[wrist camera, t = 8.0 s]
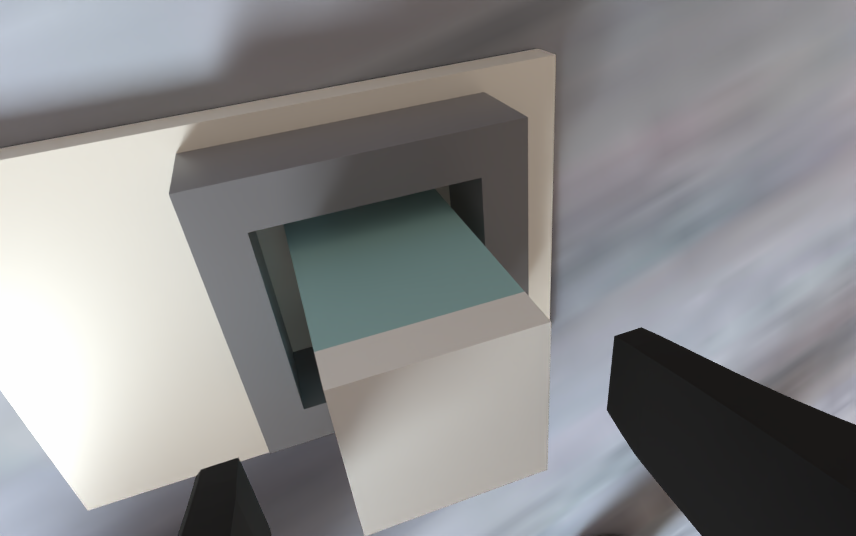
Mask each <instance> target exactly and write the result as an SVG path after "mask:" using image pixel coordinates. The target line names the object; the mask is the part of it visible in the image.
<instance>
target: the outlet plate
mask: <svg viewBox="0 0 856 536" xmlns="http://www.w3.org/2000/svg"><path fill="white" fill-rule="evenodd" d="M555 73H556V54H553V53H550V52H547V51H544V50H541V49H532V50H527V51H521V52H516V53H511V54H505V55H500V56H495V57H489V58H484V59H478V60H473V61H468V62H462V63H457V64H452V65H446V66H441V67H435V68H430V69H425V70H419V71H414V72H408V73H403V74H398V75H392V76H387V77H382V78H376V79H371V80H365V81H360V82H355V83H349V84H344V85H339V86H333V87H328V88H322V89H317V90H312V91H306V92H301V93H295V94H290V95H285V96H279V97H274V98H269V99H263V100H258V101H252V102H247V103H242V104H236V105H231V106H225V107H220V108H215V109H209V110H204V111H199V112H193V113H188V114H182V115H177V116H172V117H166V118H161V119H156V120H150V121H145V122H139V123H134V124H129V125H123V126H118V127H112V128H107V129H102V130H96V131H91V132H86V133H80V134H75V135H69V136H64V137H59V138H53V139H48V140H42V141H37V142H32V143H26V144H21V145H16V146H10V147H5V148H0V390H1V391H2V393H3V394H4V396H5V397H6V398H7V400H8V401H9V402H10V404H11V405H12V407H13V408H14V409H15V411H16V412H17V413H18V415H19V416H20V418H21V419H22V420H23V422H24V423H25V425H26V426H27V427H28V429H29V430H30V431H31V433H32V434H33V436H34V437H35V438H36V440H37V441H38V442H39V444H40V445H41V447H42V448H43V449H44V451H45V452H46V453H47V455H48V456H49V458H50V459H51V460H52V462H53V463H54V464H55V466H56V467H57V469H58V470H59V471H60V473H61V474H62V476H63V477H64V478H65V480H66V481H67V482H68V484H69V485H70V487H71V488H72V489H73V491H74V492H75V493H76V495H77V496H78V498H79V499H80V500H81V502H82V503H83V504H84V506H85V507H86V509H87V510H88V511H89V510H92V509H95V508H98V507H101V506H104V505H107V504H110V503H113V502H117V501H120V500H123V499H126V498H129V497H132V496H135V495H138V494H141V493H145V492H148V491H151V490H154V489H157V488H160V487H163V486H166V485H169V484H172V483H176V482H179V481H182V480H185V479H188V478H191V477H194V476H197V474H198V473H199V472H200V470H201V469H204V468H207V467H210V466H213V465H216V464H219V463H223V462H226V461H229V460H232V459H235V458H238V457H239V460H240V462H241V461H244V460H247V459H250V458H253V457H256V456H259V455H262V454H266V453H269V452H270V454H271V453H274V452H277V451H280V450H283V449H286V448H289V447H293V446H296V445H299V444H302V443H305V442H308V441H311V440H314V439H317V438H320V437H324V436H327V435H330V434H333V433H335V430H334V427H333V423H332V420H331V416H330V413H329V409H328V406H327V402H326V398H325V395H324V391H323V387H322V383H321V379H320V375H319V371H318V366H317V362H316V358H315V354H314V350H313V346H312V342H311V337H310V333H309V329H308V325H307V321H306V317H305V312H304V308H303V304H302V300H301V296H300V292H299V287H298V283H297V279H296V275H295V271H294V267H293V262H292V258H291V254H290V250H289V246H288V242H287V237H286V233H285V229H284V225H283V224H287V223H291V222H295V221H300V220H304V219H308V218H312V217H317V216H321V215H325V214H329V213H334V212H338V211H342V210H346V209H351V208H355V207H359V206H363V205H367V204H372V203H376V202H380V201H384V200H389V199H393V198H397V197H401V196H406V195H410V194H414V193H418V192H423V191H427V190H431V189H435V190H436V191H437V192H438V193H439V194H440V195H441V196H442V198H443V199H444V200H445V201H446V202H447V203H448V204H449V206H450V207H451V208H452V209H453V210H454V211H455V212H456V214H457V215H458V216H459V217H460V218H461V219H462V220H463V222H464V223H465V224H466V225H467V226H468V227H469V228H470V230H471V231H472V232H473V233H474V234H475V235H476V236H477V238H478V239H479V240H480V241H481V242H482V243H483V244H484V246H485V247H486V248H487V249H488V250H489V251H490V252H491V254H492V255H493V256H494V257H495V258H496V259H497V260H498V262H499V263H500V264H501V265H502V266H503V267H504V268H505V270H506V271H507V272H508V273H509V274H510V275H511V276H512V278H513V279H514V280H515V281H516V282H517V283H518V284H519V286H520V287H521V288H522V289H523V290H524V291H525V292H526V294H527V295H528V296H529V297H530V298H531V299H532V300H533V302H534V303H535V304H536V305H537V306H538V307H539V308H540V310H541V311H542V312H543V313H544V314H545V315H546V316H547V318H548V319H549V320H550V289H551V246H552V203H553V159H554V116H555Z"/></svg>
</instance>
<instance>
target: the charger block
mask: <svg viewBox="0 0 856 536" xmlns="http://www.w3.org/2000/svg"><path fill="white" fill-rule="evenodd" d="M283 225H284V229H285V233H286V237H287V242H288V246H289V250H290V254H291V258H292V262H293V267H294V271H295V275H296V279H297V283H298V287H299V292H300V296H301V300H302V304H303V308H304V312H305V317H306V321H307V325H308V329H309V333H310V337H311V342H312V346H313V350H314V354H315V358H316V362H317V366H318V371H319V375H320V379H321V383H322V387H323V391H324V395H325V398H326V402H327V406H328V409H329V413H330V416H331V420H332V423H333V427H334V430H335V434H336V438H337V441H338V445H339V448H340V452H341V455H342V459H343V462H344V466H345V469H346V473H347V477H348V480H349V484H350V487H351V491H352V494H353V498H354V501H355V505H356V509H357V512H358V516H359V519H360V523H361V526H362V530H363V533H364V536H368V535H371V534H373V533H376V532H379V531H381V530H384V529H387V528H390V527H392V526H395V525H398V524H401V523H403V522H406V521H409V520H411V519H414V518H417V517H420V516H422V515H425V514H428V513H431V512H433V511H436V510H439V509H441V508H444V507H447V506H450V505H452V504H455V503H458V502H460V501H463V500H466V499H469V498H471V497H474V496H477V495H480V494H482V493H485V492H488V491H490V490H493V489H496V488H499V487H501V486H504V485H507V484H510V483H512V482H515V481H518V480H520V479H523V478H526V477H529V476H531V475H534V474H537V473H540V472H542V471H545V470H547V461H548V424H549V387H550V349H551V321H550V320H549V319H548V318H547V316H546V315H545V314H544V313H543V312H542V311H541V310H540V308H539V307H538V306H537V305H536V304H535V303H534V302H533V300H532V299H531V298H530V297H529V296H528V295H527V294H526V292H525V291H524V290H523V289H522V288H521V287H520V286H519V284H518V283H517V282H516V281H515V280H514V279H513V278H512V276H511V275H510V274H509V273H508V272H507V271H506V270H505V268H504V267H503V266H502V265H501V264H500V263H499V262H498V260H497V259H496V258H495V257H494V256H493V255H492V254H491V252H490V251H489V250H488V249H487V248H486V247H485V246H484V244H483V243H482V242H481V241H480V240H479V239H478V238H477V236H476V235H475V234H474V233H473V232H472V231H471V230H470V228H469V227H468V226H467V225H466V224H465V223H464V222H463V220H462V219H461V218H460V217H459V216H458V215H457V214H456V212H455V211H454V210H453V209H452V208H451V207H450V206H449V204H448V203H447V202H446V201H445V200H444V199H443V198H442V196H441V195H440V194H439V193H438V192H437V191H436V190H435V189H431V190H427V191H423V192H418V193H414V194H410V195H406V196H401V197H397V198H393V199H389V200H384V201H380V202H376V203H372V204H367V205H363V206H359V207H355V208H351V209H346V210H342V211H338V212H334V213H329V214H325V215H321V216H317V217H312V218H308V219H304V220H300V221H295V222H291V223H287V224H283Z"/></svg>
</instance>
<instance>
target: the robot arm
mask: <svg viewBox="0 0 856 536" xmlns="http://www.w3.org/2000/svg"><path fill="white" fill-rule="evenodd" d="M607 411H608V413H609V414H610V416H611V418H612V419H613V421H614V422H615V424H616V426H617V427H618V429H619V431H620V432H621V434H622V435H623V437H624V438H625V440H626V441H627V443H628V444H629V446H630V447H631V449H632V450H633V452H634V454H635V455H636V456H637V458H638V459H639V460H640V461H641V463H642V464H643V465H644V466H645V468H646V469H647V470H648V471H649V472H650V474H651V475H652V476H653V477H654V479H655V480H656V481H657V482H658V483H659V485H660V486H661V487H662V488H663V490H664V491H665V492H666V493H667V494H668V496H669V497H670V498H671V499H672V500H673V502H674V503H675V504H676V505H677V506H678V508H679V509H680V510H681V511H682V512H683V514H684V515H685V516H686V517H687V519H688V520H689V521H690V522H691V523H692V525H693V526H694V527H695V528H696V529H697V531H698V532H699V533H700V534H701V535H702V536H856V425H855V424H852V423H850V422H847V421H845V420H842V419H840V418H837V417H835V416H832V415H830V414H827V413H825V412H823V411H820V410H818V409H816V408H813V407H811V406H808V405H806V404H804V403H801V402H799V401H797V400H794V399H792V398H790V397H787V396H785V395H783V394H781V393H779V392H776V391H774V390H772V389H770V388H767V387H765V386H763V385H761V384H759V383H757V382H754V381H752V380H750V379H748V378H746V377H744V376H742V375H740V374H737V373H735V372H733V371H731V370H729V369H727V368H725V367H723V366H721V365H719V364H717V363H715V362H713V361H711V360H709V359H707V358H704V357H702V356H700V355H698V354H696V353H694V352H692V351H690V350H688V349H686V348H684V347H682V346H680V345H678V344H676V343H674V342H672V341H670V340H668V339H666V338H663V337H661V336H659V335H657V334H655V333H653V332H650V331H648V330H646V329H644V328H638V329H635V330H632V331H629V332H626V333H623V334H620V335H617V336H614V346H613V355H612V365H611V375H610V385H609V394H608V404H607ZM178 536H271V532H270V528H269V526H268V523H267V521H266V519H265V517H264V514H263V512H262V510H261V508H260V505H259V503H258V501H257V498H256V496H255V494H254V492H253V489H252V487H251V485H250V482H249V480H248V478H247V476H246V473H245V471H244V469H243V466H242V464H241V462H240V460H239V457H238V458H235V459H232V460H229V461H226V462H223V463H219V464H216V465H213V466H210V467H207V468H204V469H201V470H200V472H199V473H198V474H197V476H196V478H195V482H194V486H193V489H192V493H191V496H190V499H189V502H188V506H187V509H186V512H185V515H184V518H183V521H182V524H181V528H180V531H179V533H178Z"/></svg>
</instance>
